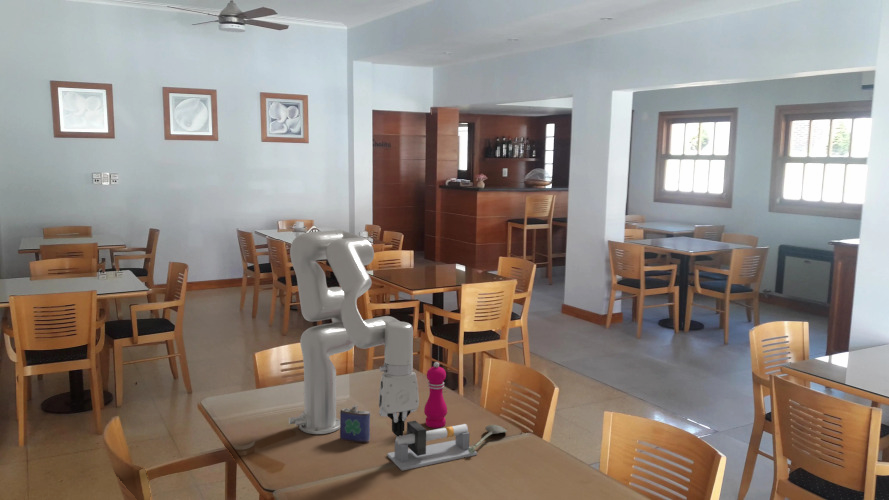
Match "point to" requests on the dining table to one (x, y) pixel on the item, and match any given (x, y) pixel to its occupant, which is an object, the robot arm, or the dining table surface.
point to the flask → (354, 425)
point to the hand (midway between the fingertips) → (398, 434)
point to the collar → (417, 437)
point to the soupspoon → (492, 430)
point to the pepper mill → (436, 398)
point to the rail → (432, 448)
